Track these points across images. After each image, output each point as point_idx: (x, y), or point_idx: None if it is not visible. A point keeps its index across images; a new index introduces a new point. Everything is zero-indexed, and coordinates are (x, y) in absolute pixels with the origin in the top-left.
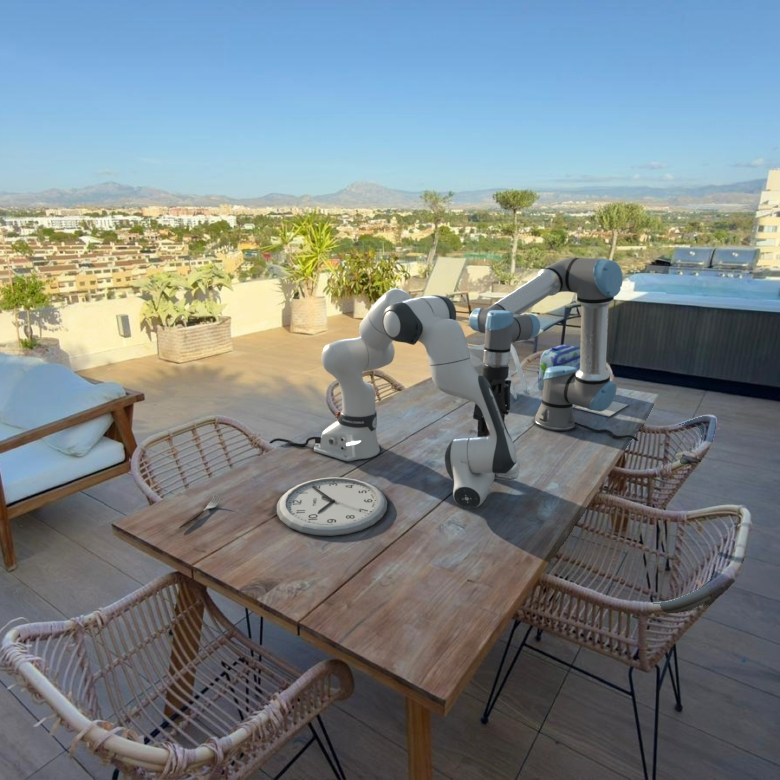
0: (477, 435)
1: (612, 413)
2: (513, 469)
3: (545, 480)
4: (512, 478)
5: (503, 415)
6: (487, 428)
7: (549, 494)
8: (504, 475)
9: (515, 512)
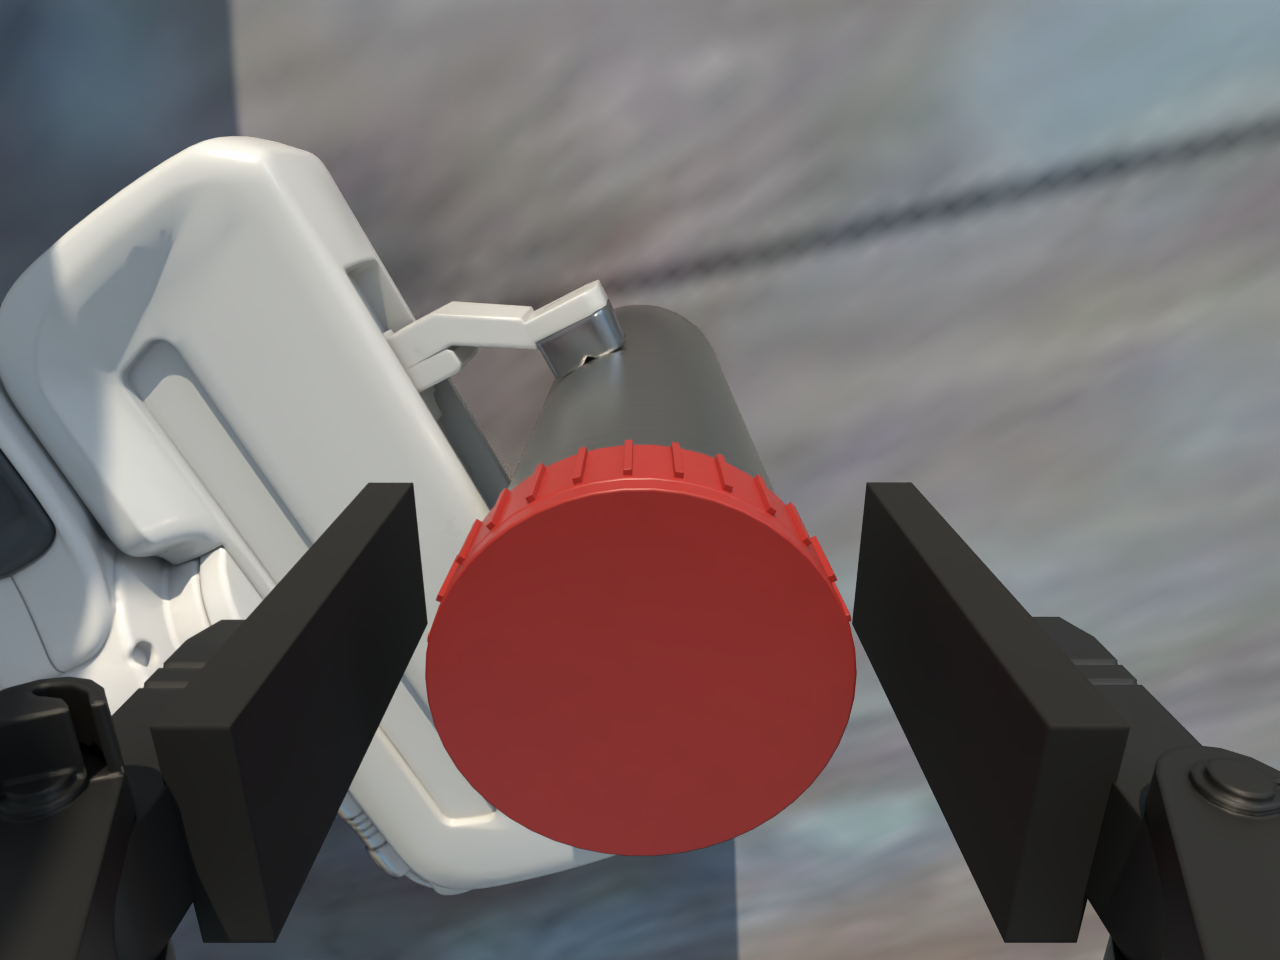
0: (342, 512)
1: None
2: (459, 888)
3: (909, 754)
4: (407, 875)
5: (1019, 934)
6: (443, 719)
7: (722, 869)
8: (363, 833)
9: (323, 858)
